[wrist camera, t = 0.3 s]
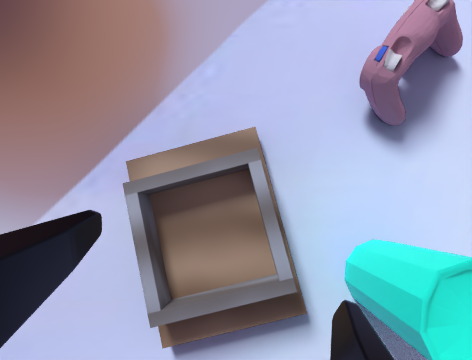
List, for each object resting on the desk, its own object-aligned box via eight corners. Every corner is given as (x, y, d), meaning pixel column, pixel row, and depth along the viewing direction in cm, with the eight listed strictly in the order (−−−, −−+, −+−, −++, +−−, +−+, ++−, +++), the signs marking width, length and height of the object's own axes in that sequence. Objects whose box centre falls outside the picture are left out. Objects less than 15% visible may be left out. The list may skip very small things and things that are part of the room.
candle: (432, 282, 22) (640, 360, 10) (377, 327, 22) (523, 460, 10) (382, 225, 23) (520, 235, 11) (329, 268, 23) (410, 325, 11)
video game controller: (410, 41, 27) (422, -32, 21) (462, 51, 24) (492, -29, 18) (351, 115, 26) (346, 61, 20) (397, 134, 23) (407, 78, 18)
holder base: (303, 306, 23) (313, 326, 19) (168, 339, 23) (150, 365, 19) (255, 132, 25) (255, 116, 21) (133, 164, 25) (111, 155, 21)
